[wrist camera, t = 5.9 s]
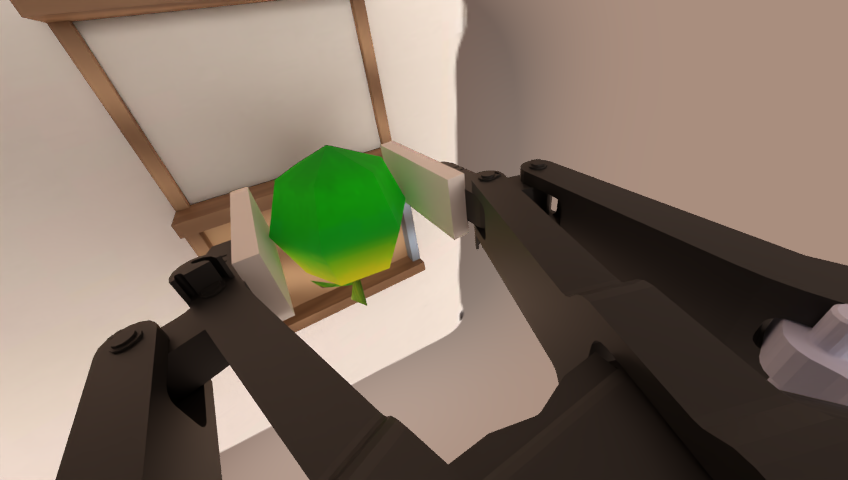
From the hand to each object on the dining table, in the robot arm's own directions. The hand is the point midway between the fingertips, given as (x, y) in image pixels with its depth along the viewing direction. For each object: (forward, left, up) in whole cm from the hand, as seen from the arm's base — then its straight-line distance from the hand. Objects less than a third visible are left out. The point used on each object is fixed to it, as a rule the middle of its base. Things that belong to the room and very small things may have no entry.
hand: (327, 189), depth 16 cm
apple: (+2, 0, -1) cm, 2 cm away
